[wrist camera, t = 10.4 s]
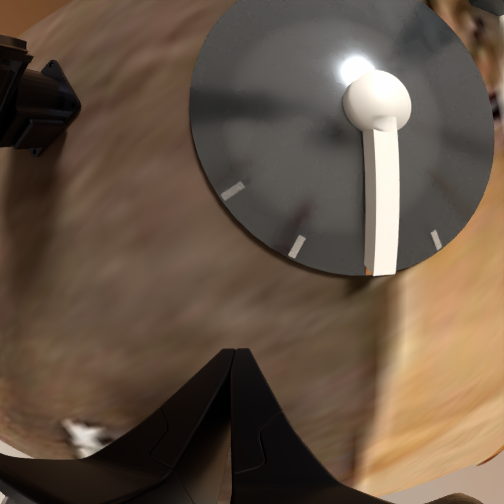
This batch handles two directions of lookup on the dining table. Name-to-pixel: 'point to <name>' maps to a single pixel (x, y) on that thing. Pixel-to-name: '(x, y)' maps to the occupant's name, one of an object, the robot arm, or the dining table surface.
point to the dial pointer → (379, 160)
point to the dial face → (338, 125)
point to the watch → (490, 6)
